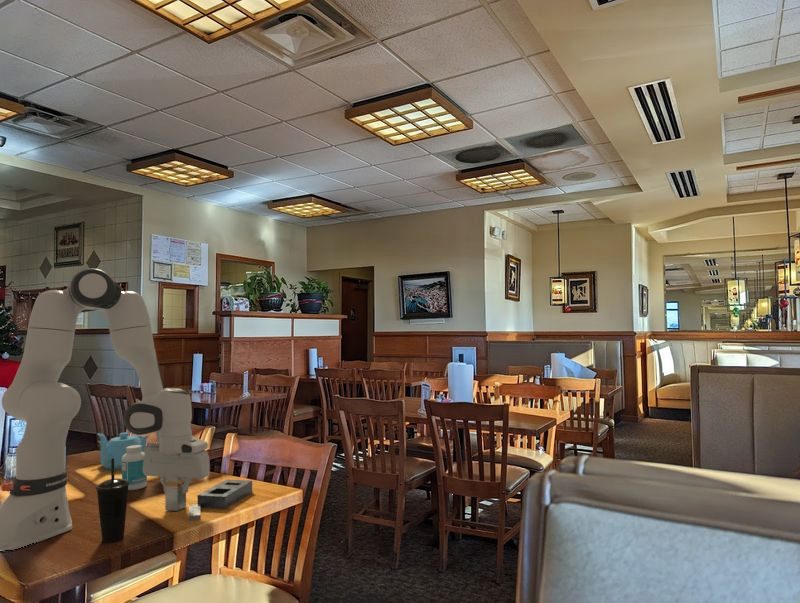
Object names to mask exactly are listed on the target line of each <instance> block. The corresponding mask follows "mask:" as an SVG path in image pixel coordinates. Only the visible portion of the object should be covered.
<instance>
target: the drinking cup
mask: <svg viewBox="0 0 800 603" xmlns="http://www.w3.org/2000/svg"><path fill="white" fill-rule="evenodd" d="M110 472H111V473H110V475H111V476H110V477H111V478H109V479H106V480H104V481H102V482H100V483H98V484H97V485H96V486H95V490H96V494H97V502H98V503H97V505H98V513H99V514H98V515H99V522H100V524H99V525H100V531H101V542H102V543H105V544H109V543H110V544H111V543H112V544H113V543H115V542H120V541H121V540H123V539H124V537H125V529H126V528H125V527H126V516H127V504H128V495H129V490H128V486H129V484H130V482H129V481H127V480H123V479H122V478H115V470H114V459H111V471H110Z"/></svg>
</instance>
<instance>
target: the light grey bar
mask: <svg viewBox="0 0 800 603" xmlns="http://www.w3.org/2000/svg"><path fill="white" fill-rule="evenodd" d="M198 519H199V520H201V508H200V504H198V503H196V504H189V507H188V521H189V522H191V521H197V520H198Z"/></svg>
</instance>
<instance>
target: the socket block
mask: <svg viewBox="0 0 800 603" xmlns="http://www.w3.org/2000/svg"><path fill="white" fill-rule="evenodd" d="M251 493H253V480H247V479H246V480H244V479H243V480H241V479H225V480H223V481H222V482H219V483H218V484H216V485H214V486H212V487H210V488H208V489H206V490H205V491H202V492H200V493H198V494H197V504H200V509H201V508H204V509H217V510H219V509H220V510H221V509H222V510H226V509H228V508H229V507H230V506H232V505H234V504H235V503H237V502H239V501H240V500H242V499H243V498H244V499H245V497H247V496H248V495H249V494H251Z"/></svg>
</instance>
